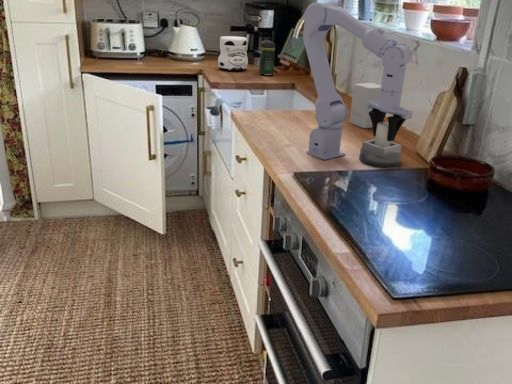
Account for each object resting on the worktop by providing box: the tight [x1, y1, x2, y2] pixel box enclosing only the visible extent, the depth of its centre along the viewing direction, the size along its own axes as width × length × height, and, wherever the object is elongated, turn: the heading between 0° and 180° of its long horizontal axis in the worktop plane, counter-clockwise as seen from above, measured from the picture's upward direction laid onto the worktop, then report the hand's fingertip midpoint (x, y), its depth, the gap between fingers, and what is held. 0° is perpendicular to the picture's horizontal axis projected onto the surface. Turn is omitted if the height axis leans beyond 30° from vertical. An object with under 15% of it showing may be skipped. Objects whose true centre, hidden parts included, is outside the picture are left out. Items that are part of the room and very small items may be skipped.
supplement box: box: [349, 82, 381, 129], centre depth 184 cm, size 9×9×15 cm
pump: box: [374, 121, 392, 147], centre depth 139 cm, size 6×4×6 cm
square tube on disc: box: [358, 138, 402, 169], centre depth 147 cm, size 12×12×6 cm
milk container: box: [217, 35, 249, 71], centre depth 282 cm, size 17×17×18 cm
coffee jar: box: [258, 39, 276, 75], centre depth 272 cm, size 10×8×19 cm
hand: (383, 138), depth 140 cm, fingers closed on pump, 4 cm apart
